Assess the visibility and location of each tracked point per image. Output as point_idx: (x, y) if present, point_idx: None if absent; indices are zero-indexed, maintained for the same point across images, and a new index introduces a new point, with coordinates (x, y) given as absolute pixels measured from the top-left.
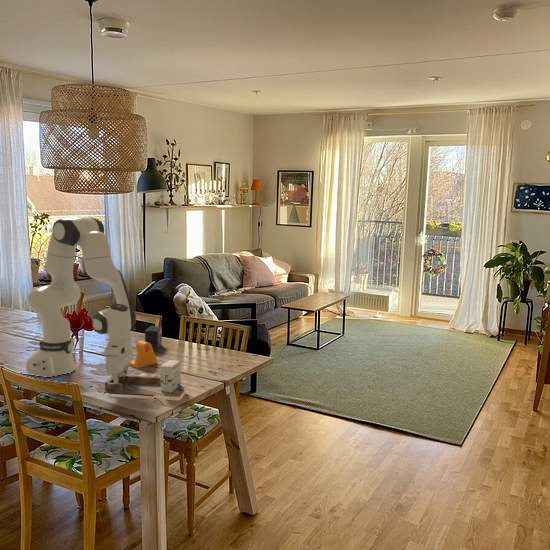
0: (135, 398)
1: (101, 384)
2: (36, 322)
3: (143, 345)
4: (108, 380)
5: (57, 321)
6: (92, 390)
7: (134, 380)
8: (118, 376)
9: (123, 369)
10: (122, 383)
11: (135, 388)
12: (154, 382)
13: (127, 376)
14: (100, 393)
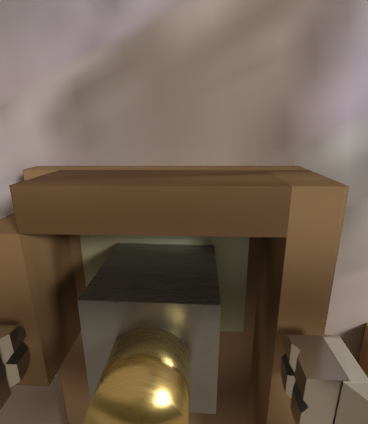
0: (24, 406)
1: (272, 28)
2: None
3: None
4: (92, 201)
5: None
6: (79, 8)
7: (258, 391)
8: (110, 355)
9: (350, 395)
10: (46, 378)
11: None
12: None
13: (209, 405)
14: (29, 135)
